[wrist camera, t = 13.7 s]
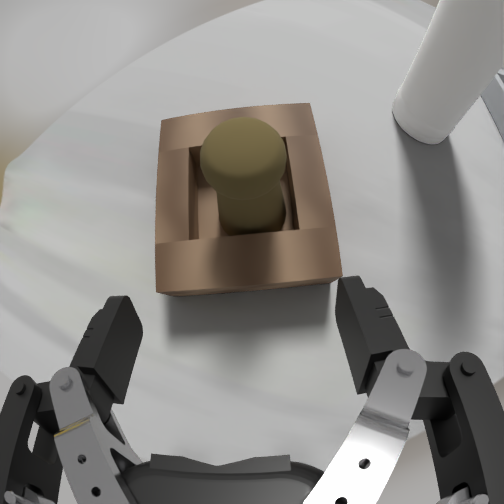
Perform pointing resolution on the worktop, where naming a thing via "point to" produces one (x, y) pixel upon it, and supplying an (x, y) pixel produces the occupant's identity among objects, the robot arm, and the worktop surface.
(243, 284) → the socket block
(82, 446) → the robot arm
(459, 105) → the bottle
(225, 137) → the cork
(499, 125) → the tray rim
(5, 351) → the worktop surface
